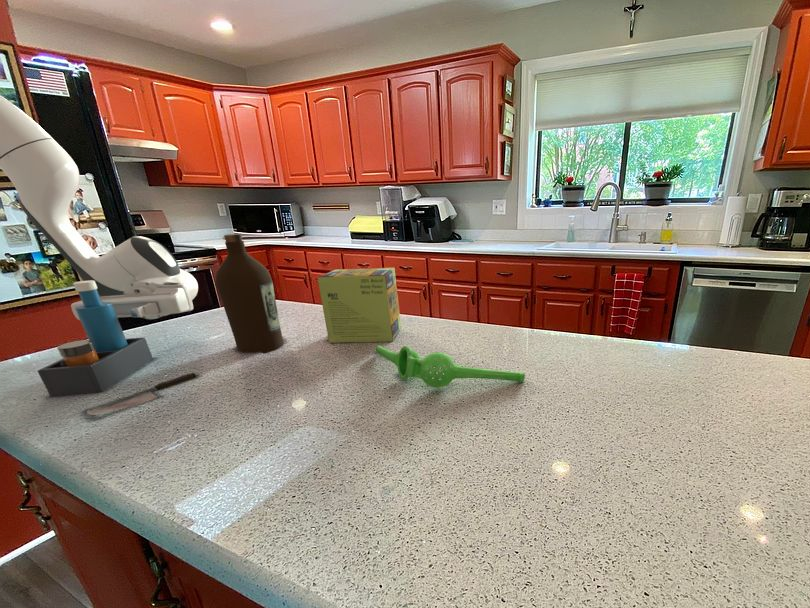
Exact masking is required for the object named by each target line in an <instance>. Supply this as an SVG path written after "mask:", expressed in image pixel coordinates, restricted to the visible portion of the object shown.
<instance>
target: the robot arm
mask: <svg viewBox="0 0 810 608" xmlns="http://www.w3.org/2000/svg"><path fill="white" fill-rule="evenodd" d="M0 170H1V171H2V172H3V173H4V174H5V175H6V176H7V177H8V179H9V180H10V182H11V184H13V186H14V188H15V190H16V192H17V194H18V204H19V206H20V208H21V210H22V211H23V212H24V214H25V216H26V217H27V218H28V219H29V220H30V221H31V222H32V223H33V225H34V226H35V227H36V228H37V229H38V230H39V231H40V233H41V234H43V236H44V237H45V238H46V239H47V240H48V241H49V242H50V244H51V245H52V246H53V247H54V248H55V249H56V251H58V252H59V254H61V256H62V257H63V258H64V259H65V260H66V261H67V263H68V264H70V266H71V267H72V268H73V270H75V272H76V273H77V274H78V276H79V278H80V279H81V281H89V280H93V281H95V283H96V286H97V292H98V294H99V297H100V299H101V301H102V302H111V303H112V306H113V308H114V311H115V313H116V316H117V318H118V319H119V318H130V317H131V318H142V319H146V320H156V319H160V318H162V317H166V316H169V315H174V314H175V315H176V314H180V313H186V312H191V311H193V310H194V304H193V300H194V299H195V298H196V297H197V295H198V292H199V284H198V281H197V279H196V278H195V277H194V275H193V274H191V273H190V272H188V271H186V270H184V269H182V268H180V265H179V262H178V260H177V259H176V258H175V256H174V255H173V253H172V252H171V251H170V250H169V248H167V247H166V246H165V245H164V244H162V243H160V242H158V241H156V240H153V239H152V238H149V237H145V236H139V235H133V236H131V237H130V238H128V239H126V240H124V241H122V243H120V244H118V245H116V246H115V247H114V248H113V249H111V250H109V251H107V252H105V253H104V254H103V255H98V254H97V253H96V252H95V250H94V249H93V248H92V247H91V246H90V245H89V244H88V242H87V241H86V240H85V239H84V238H83V236H82V235H81V234H80V233H79V232H78V230H77V229H75V227H74V225H73V224H72V223H71V220H70V216H69V210H70V206H71V203H72V201H73V199H74V197H75V195H76V193H77V192H78V189H79V186H80V180H81V179H80V171H79V168H78V165H77V164H76V162H75V161H74V159H73V158H72V156H71V155H70V154H68V152H67V151H66V150H65V149H64V148H63V146H61V145H60V144H59V142H57V141H56V140H55V139H54V138H53V137H52V136H51V135H50V134H49V133H48V132H47V131H45V129H43V128H42V127H41V125H39V124H38V123H37V122H36V121H35V120H33V118H31V117H30V116H29V115H27V114H26V113H25V112H24V111H23V110H21V108H19V107H17V105H15V104H14V103H12V102H11V101H10V100H8V99H7V98H6V97H4V96H2V95H0ZM82 305H83V302H82V300H79V301H75V302H73V303H71V305H70V308H71V311H72V313H73V315H74V317H75V318H76V319H77V320H78V321H80V318H79V316H78V314H77V312H76V309H75V308H76V307H78V306H82Z"/></svg>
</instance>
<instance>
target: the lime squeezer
mask: <svg viewBox="0 0 810 608" xmlns="http://www.w3.org/2000/svg"><path fill="white" fill-rule="evenodd" d="M375 353H376V354H378V355H380V356H381V357H383V358H385V359H386V360H388V361H390V362H391V363H393V364H394V365H395V366H396V367H397V372H398V375H399V378H400V379H401V380H404V381H405V380H408V379H409V378H417V379H420V380H422V381H423V382H424V383H425V384H426V385H427V386H429V387H431V388H437V389H440V388H444V387H446V386H448V385H450V384H451V383H452V382H453V381H454V380H455V379H457V380H458V379H484V380H499V381H510V382H518V383H522V382H524V381H525V378H526V373H525V372H521V371H519V372H518V371H509V370H498V369H487V368H479V367H478V368H476V367H468V366H462V365H457V364H456V363H455V362H454V360H453V359H452V357H450V356H449V355H448V354H446V353H444V352H432V353H430V354H427V355H426V356H425V357H423V358H421V357H420V354H419V353H418V352H417V351H415V350H413V349H412V348H411V347H410V346H408V345H403V346H402V347H401V348H400V350H399V352H395V351H392V350H388V349H387V348H386V347H383V346H382V345H377V346H376V347H375Z"/></svg>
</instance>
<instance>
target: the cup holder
mask: <svg viewBox="0 0 810 608" xmlns="http://www.w3.org/2000/svg"><path fill="white" fill-rule="evenodd" d="M126 341H127V343H128V345H126V346H124V347H122V348H121V349H119V350H113V351H100V352H96V353H97V355H98V357H99V360H98V361H96V362H94V363H92V364H90V365H82V366H70V367H67V366H66V364H65V362H64V360H63V358H61V359H59V360H57V361H55V362H53V363H51V364H48V365H46V366H44V367H42V368H40V369H38V370H37V374H38V376H39V377H40V379H41V381H42V383H43V385H44V387H45V389H46V392H47V393H48V395H49V397H50V398H52V397H63V396H73V395H74V396H75V395H84V394H85V395H86V394H95V393H103V392H105V391H106V390H108V389H110V388H111V387H112V386H114V385H115V384H117V383H119V382H121V381H122V380H124V379H125V378H127V377H128V376H130V375H131V374H133V373H134V372H136V371H138V370H139V369H141V368H143V367H145V366H146V365H147V364H149V363H150V362H152V361H153V360H154V358H153V355H152V352H151V350H150V348H149V345H148V342H147V339H146V337H133V338H126Z"/></svg>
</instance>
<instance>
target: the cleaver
mask: <svg viewBox="0 0 810 608" xmlns="http://www.w3.org/2000/svg"><path fill="white" fill-rule="evenodd" d="M196 378H197V375H196V373H194V372H190V373H187V374H183V375H181V376H178V377H175V378H172V379H169V380H167V381H162V382H160V383H157V384H156V385H154V387H152V388H149V389H146V390H144V391H140V392H138V393H135V394H133V395H129V396H126V397H124V398H121V399H118V400H115V401H113V402H109V403H107V404H105V405H101V406H98V407H96V408H92V409H89V410H87V411H86V414H88V415H95V416H97V415H101V414H105V413H109V412H112V411H117V410H121V409H125V408H128V407H132V406H137V405H141V404H145V403H147V402H149V401H153V400H155V399H158V396H157V395H155V394H153V392H156V391H160V390H163V389H167V388H170V387H172V386H175V385H178V384H181V383H184V382H188V381H191V380H193V379H196Z"/></svg>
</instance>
